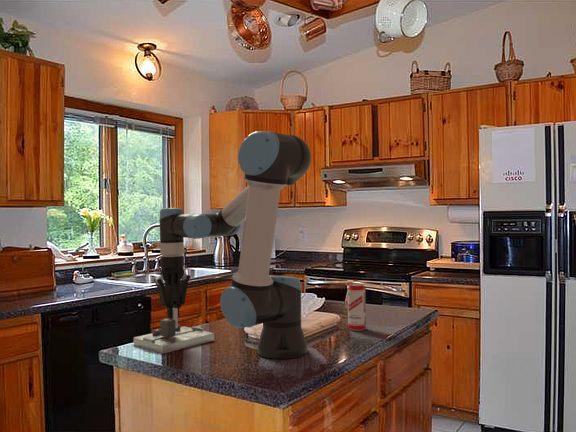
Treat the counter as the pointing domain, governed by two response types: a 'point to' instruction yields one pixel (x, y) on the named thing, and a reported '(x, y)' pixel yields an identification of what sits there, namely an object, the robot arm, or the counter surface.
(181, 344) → the console
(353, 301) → the beer can
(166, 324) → the fader tab
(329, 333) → the counter surface
